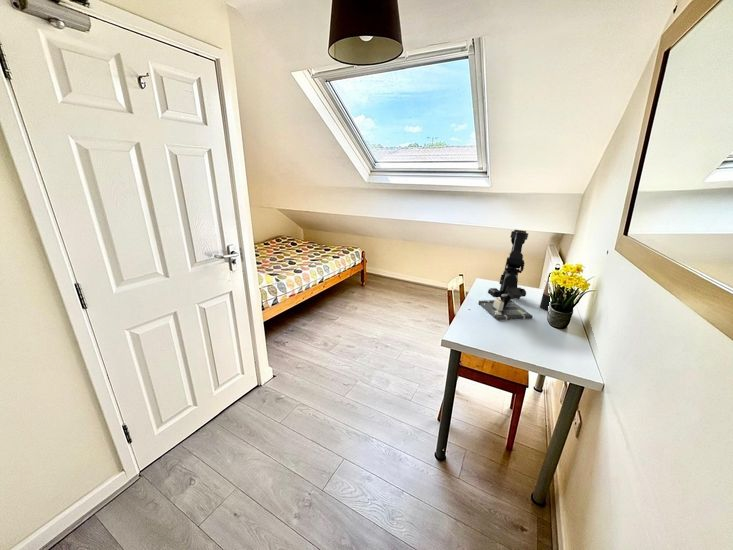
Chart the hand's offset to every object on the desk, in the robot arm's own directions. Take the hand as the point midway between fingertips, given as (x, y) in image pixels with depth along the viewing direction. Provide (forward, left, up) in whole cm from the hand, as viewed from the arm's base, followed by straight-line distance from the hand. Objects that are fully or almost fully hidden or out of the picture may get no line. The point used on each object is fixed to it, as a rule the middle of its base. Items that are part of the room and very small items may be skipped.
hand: (503, 306), depth 158 cm
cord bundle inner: (-9, +1, -3) cm, 9 cm away
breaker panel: (0, +1, -3) cm, 3 cm away
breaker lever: (0, -3, -1) cm, 3 cm away
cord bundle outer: (+8, +1, -3) cm, 9 cm away
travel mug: (-1, +28, -3) cm, 28 cm away
